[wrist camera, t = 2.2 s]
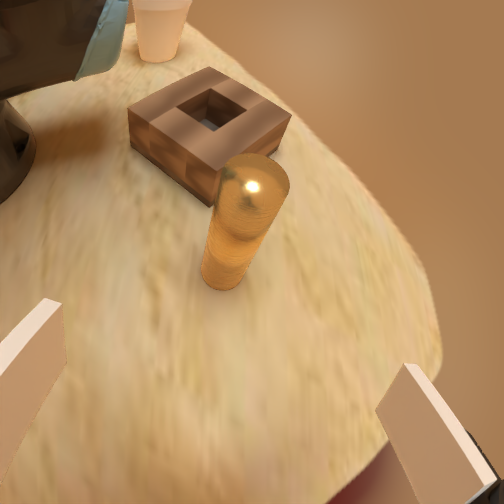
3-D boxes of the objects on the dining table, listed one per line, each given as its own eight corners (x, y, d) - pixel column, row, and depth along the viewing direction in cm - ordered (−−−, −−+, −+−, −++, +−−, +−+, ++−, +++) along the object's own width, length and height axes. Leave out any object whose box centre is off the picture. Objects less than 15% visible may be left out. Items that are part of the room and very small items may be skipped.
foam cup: (195, 56, 45) (206, -9, 34) (151, 73, 41) (156, 1, 29) (163, 39, 46) (169, -20, 35) (121, 54, 42) (122, -10, 31)
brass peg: (192, 271, 29) (206, 177, 17) (219, 243, 31) (249, 143, 19) (225, 298, 29) (263, 221, 16) (250, 269, 31) (301, 181, 18)
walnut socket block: (130, 145, 34) (127, 107, 29) (203, 100, 40) (209, 66, 35) (209, 207, 32) (216, 171, 27) (277, 148, 39) (291, 114, 33)
